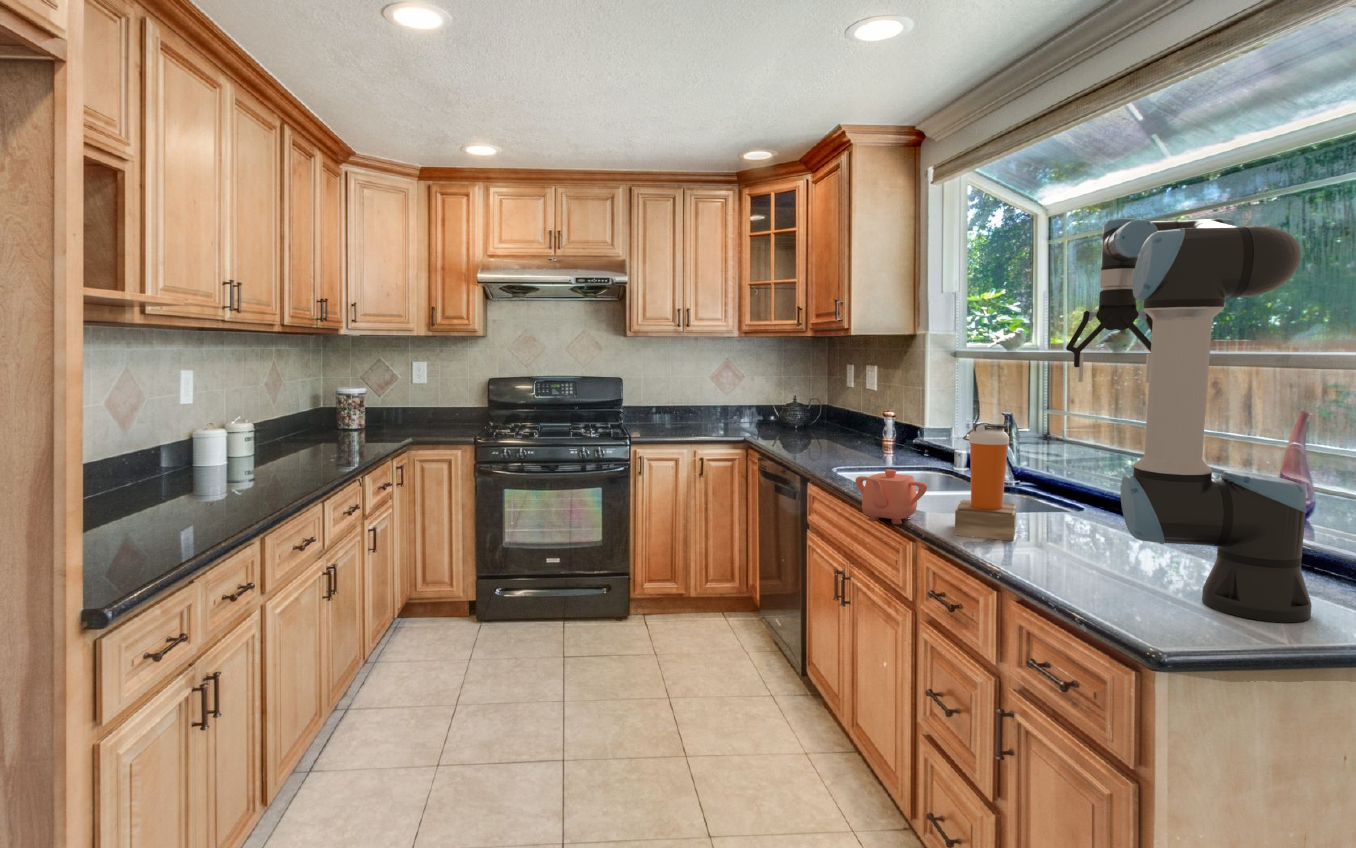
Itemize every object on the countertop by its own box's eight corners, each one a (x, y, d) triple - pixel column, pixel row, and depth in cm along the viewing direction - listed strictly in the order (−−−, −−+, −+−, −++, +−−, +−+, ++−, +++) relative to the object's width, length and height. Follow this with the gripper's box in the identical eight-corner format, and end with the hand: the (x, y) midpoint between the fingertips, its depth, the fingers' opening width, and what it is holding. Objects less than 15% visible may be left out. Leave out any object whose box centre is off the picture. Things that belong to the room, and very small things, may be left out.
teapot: (902, 512, 214) (903, 464, 213) (932, 524, 199) (933, 473, 197) (845, 515, 211) (846, 466, 209) (871, 528, 195) (872, 476, 194)
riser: (1013, 540, 182) (1014, 513, 181) (954, 535, 187) (955, 509, 187) (1015, 529, 194) (1016, 503, 193) (959, 524, 199) (960, 499, 198)
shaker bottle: (1012, 510, 185) (1016, 426, 183) (974, 510, 185) (977, 426, 183) (997, 503, 194) (1001, 422, 192) (961, 503, 194) (964, 422, 192)
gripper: (1180, 288, 176) (1174, 382, 178) (1057, 291, 187) (1053, 380, 189) (1185, 286, 170) (1179, 383, 172) (1057, 289, 180) (1053, 381, 182)
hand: (1113, 382), depth 180 cm, fingers open, 13 cm apart
